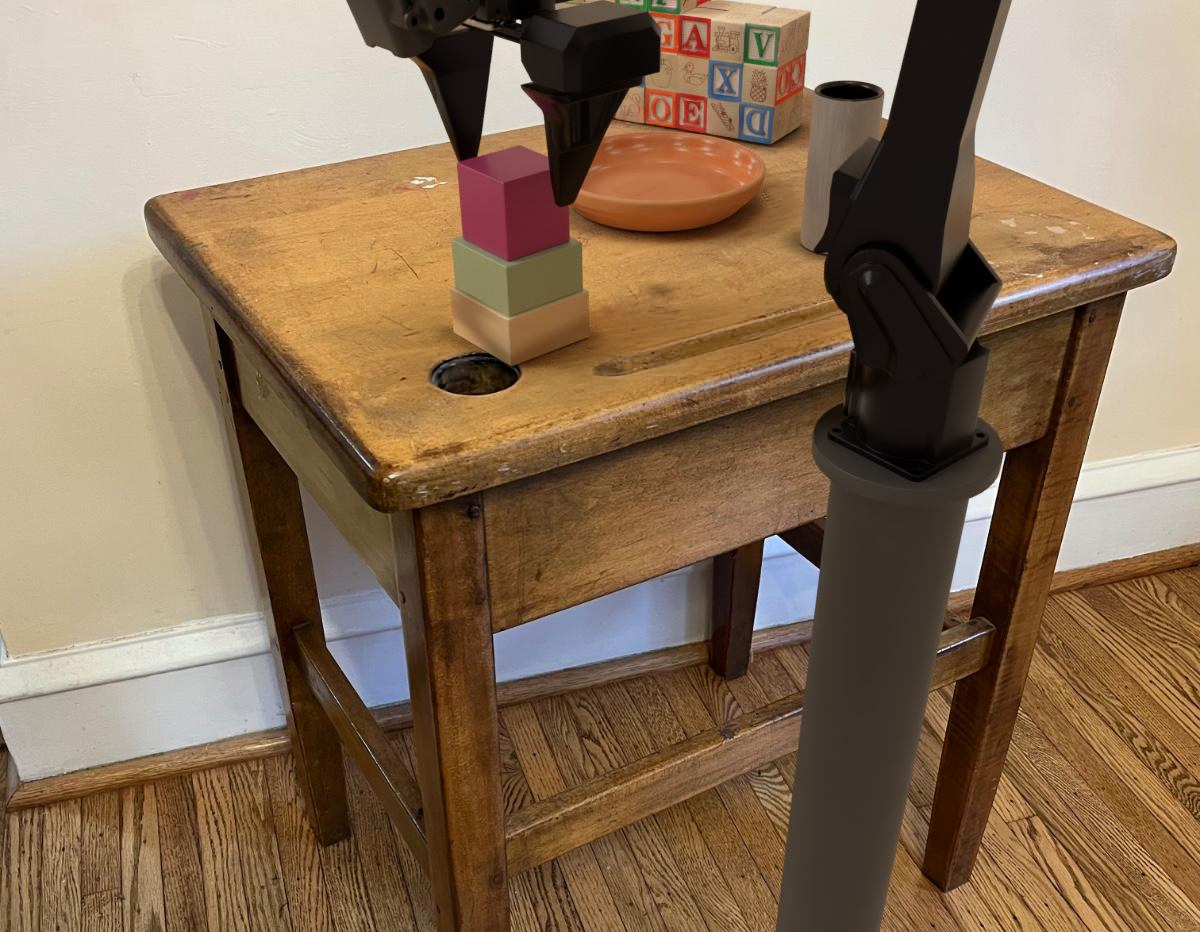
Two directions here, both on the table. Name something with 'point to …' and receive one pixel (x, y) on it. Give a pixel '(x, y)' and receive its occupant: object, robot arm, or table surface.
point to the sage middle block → (518, 275)
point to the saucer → (668, 181)
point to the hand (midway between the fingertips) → (514, 183)
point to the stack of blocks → (722, 68)
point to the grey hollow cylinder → (835, 144)
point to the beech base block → (521, 326)
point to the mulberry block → (510, 203)
